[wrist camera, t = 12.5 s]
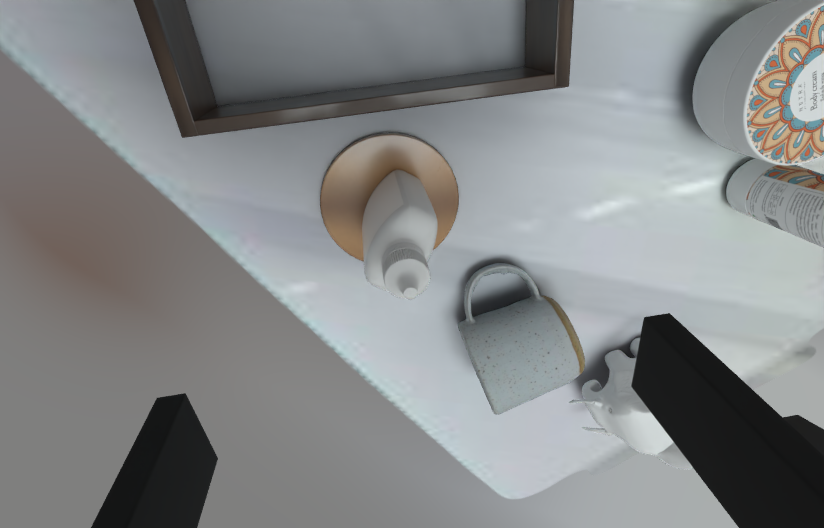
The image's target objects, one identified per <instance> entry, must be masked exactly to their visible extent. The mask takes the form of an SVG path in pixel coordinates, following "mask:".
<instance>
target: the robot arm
mask: <svg viewBox="0 0 824 528" xmlns="http://www.w3.org/2000/svg"><path fill="white" fill-rule="evenodd" d="M631 387H632V388H633V390H634V391H635V392H636V394H637V395H638V396H639V397H640V399H641V400H642V401H643V403H644V404H645V405H646V407H647V408H648V409H649V411H650V412H651V413H652V414H653V416H654V417H655V418H656V420H657V421H658V422H659V424H660V425H661V426H662V428H663V429H664V430H665V431H666V433H667V434H668V435H669V437H670V438H671V439H672V441H673V442H674V443H675V445H676V446H677V447H678V448H679V450H680V451H681V452H682V454H683V455H684V456H685V458H686V459H687V460H688V462H689V463H690V464H691V466H692V467H693V468H694V469H695V471H696V472H697V473H698V475H699V476H700V477H701V479H702V480H703V481H704V482H705V484H706V485H707V486H708V488H709V489H710V490H711V492H712V493H713V494H714V496H715V497H716V498H717V499H718V501H719V502H720V503H721V505H722V506H723V507H724V509H725V510H726V511H727V513H728V514H729V515H730V517H731V518H732V519H733V520H734V522H735V523H736V524H737V526H738V527H739V528H824V429H822V428H820V427H818V426H817V425H815V424H813V423H811V422H809V421H808V420H806V419H804V418H802V417H801V416H799V415H794V416H789V417H783V418H782V417H781V416H780V415H779V414H778V413H777V412H776V411H775V410H774V409H773V408H772V407H770V406H769V405H768V404H767V403H766V402H765V401H764V400H763V399H762V398H761V397H760V396H759V395H757V394H756V393H755V392H754V391H753V390H752V389H751V388H750V387H749V386H748V385H747V384H746V383H745V382H743V381H742V380H741V379H740V378H739V377H738V376H737V375H736V374H735V373H734V372H733V371H732V370H730V369H729V368H728V367H727V366H726V365H725V364H724V363H723V362H722V361H721V360H720V359H718V358H717V357H716V356H715V355H714V354H713V353H712V352H711V351H710V350H709V349H708V348H707V347H705V346H704V345H703V344H702V343H701V342H700V341H699V340H698V339H697V338H696V337H695V336H694V335H692V334H691V333H690V332H689V331H688V330H687V329H686V328H685V327H684V326H683V325H682V324H681V323H679V322H678V321H677V320H676V319H675V318H674V317H673V316H672V315H671V314H670V313H668V314H662V315H656V316H650V317H644V321H643V326H642V332H641V337H640V342H639V348H638V353H637V358H636V363H635V369H634V374H633V379H632V384H631ZM217 460H218V458H217V456H216V454H215V452H214V450H213V448H212V446H211V444H210V441H209V439H208V437H207V436H206V433H205V432H204V429H203V427H202V426H201V424H200V421H199V420H198V418H197V415H196V414H195V411H194V410H193V407H192V406H191V404H190V401H189V399H188V398H187V395H186V394H178V395H173V396H166V397H160V398H157V399H156V401H155V403H154V405H153V407H152V409H151V411H150V413H149V415H148V417H147V419H146V421H145V423H144V425H143V427H142V429H141V431H140V433H139V435H138V436H137V438H136V440H135V442H134V445H133V446H132V448H131V451H130V452H129V454H128V456H127V458H126V460H125V462H124V464H123V466H122V468H121V470H120V472H119V474H118V476H117V478H116V480H115V482H114V484H113V486H112V488H111V490H110V492H109V493H108V495H107V497H106V499H105V501H104V503H103V506H102V507H101V509H100V511H99V513H98V515H97V517H96V519H95V521H94V523H93V525H92V527H91V528H197V526H198V523H199V519H200V516H201V513H202V510H203V506H204V503H205V499H206V496H207V493H208V490H209V486H210V483H211V479H212V476H213V473H214V470H215V466H216V462H217Z"/></svg>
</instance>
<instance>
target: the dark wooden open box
mask: <svg viewBox="0 0 824 528" xmlns="http://www.w3.org/2000/svg"><path fill="white" fill-rule="evenodd" d="M134 2H135V5H136V8H137V11H138V14H139V16H140V19H141V22H142V25H143V28H144V31H145V34H146V36H147V39H148V42H149V45H150V48H151V51H152V53H153V56H154V59H155V62H156V65H157V68H158V70H159V73H160V76H161V79H162V82H163V85H164V87H165V90H166V93H167V96H168V99H169V102H170V104H171V107H172V110H173V113H174V116H175V119H176V121H177V124H178V127H179V130H180V133H181V136H182V138H185V137H193V136H199V135H207V134H215V133H222V132H230V131H238V130H245V129H253V128H260V127H268V126H275V125H283V124H290V123H298V122H305V121H313V120H321V119H328V118H336V117H343V116H351V115H358V114H366V113H373V112H381V111H389V110H396V109H404V108H411V107H419V106H426V105H434V104H441V103H449V102H456V101H464V100H472V99H479V98H487V97H494V96H502V95H509V94H517V93H524V92H532V91H539V90H547V89H553V88H554V89H555V88H562V87H568V86H569V74H570V58H571V41H572V25H573V8H574V0H526V49H525V67H519V68H511V69H503V70H495V71H488V72H480V73H472V74H464V75H457V76H449V77H441V78H433V79H426V80H418V81H410V82H402V83H395V84H387V85H379V86H372V87H364V88H356V89H348V90H341V91H333V92H325V93H317V94H310V95H302V96H294V97H286V98H279V99H271V100H263V101H255V102H248V103H240V104H232V105H224V106H218V107H217V104H216V101H215V97H214V94H213V91H212V88H211V84H210V81H209V78H208V74H207V71H206V68H205V65H204V61H203V58H202V55H201V51H200V48H199V45H198V42H197V38H196V35H195V32H194V28H193V25H192V22H191V19H190V15H189V12H188V9H187V6H186V2H185V0H134Z"/></svg>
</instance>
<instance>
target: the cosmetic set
mask: <svg viewBox="0 0 824 528" xmlns="http://www.w3.org/2000/svg"><path fill="white" fill-rule="evenodd" d="M693 109H694V113H695V116H696V119H697V121H698V123H699V125H700V127H701V129H702V130H703V131H704V132H705V134H706V135H707V136H708V137H709V138H710V139H712V140H713V141H714V142H716V143H717V144H719V145H721V146H723V147H725V148H727V149H730V150H732V151H735V152H738V153H741V154H744V155H747V156H750V157H753V158H755V159H752V160H750V161H748V162H746V163H745V164H743V165H742V166H741V167H739V168H738V169H737V170H736V171H735V172H734V174H733V175H732V177H731V178H730V180H729V182H728V185H727V189H726V196H727V200H728V202H729V204H730V205H731V206H732V207H733V208H734V209H735V210H737V211H739V212H742V213H744V214H746V215H748V216H750V217H752V218H754V219H757V220H760V221H762V222H765V223H767V224H769V225H772V226H774V227H776V228H779V229H781V230H784V231H786V232H788V233H791V234H793V235H795V236H798V237H800V238H802V239H805V240H807V241H809V242H812V243H814V244H817V245H819V246H821V247H824V175H823V174H820V173H817V172H814V171H811V170H809V169H806V168H803V167H800V166H797V165H798V164H803V163H807V162H810V161H813V160H816V159H818V158H821V157H823V156H824V0H778V1H775V2H771V3H768V4H766V5H763V6H761V7H759V8H757V9H755V10H753V11H751V12H749V13H747V14H746V15H744V16H743V17H741V18H740V19H738V20H737V21H736V22H734V23H733V24H732V25H731V26H729V27H728V28H727V29H726V30H725V31H724V32H723V33H722V34H721V35H720V36H719V37H718V38H717V40H716V41H715V42H714V43H713V45H712V46H711V47H710V49H709V50H708V52H707V53H706V55H705V57H704V58H703V60H702V62H701V64H700V67H699V69H698V72H697V75H696V78H695V82H694V87H693Z"/></svg>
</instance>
